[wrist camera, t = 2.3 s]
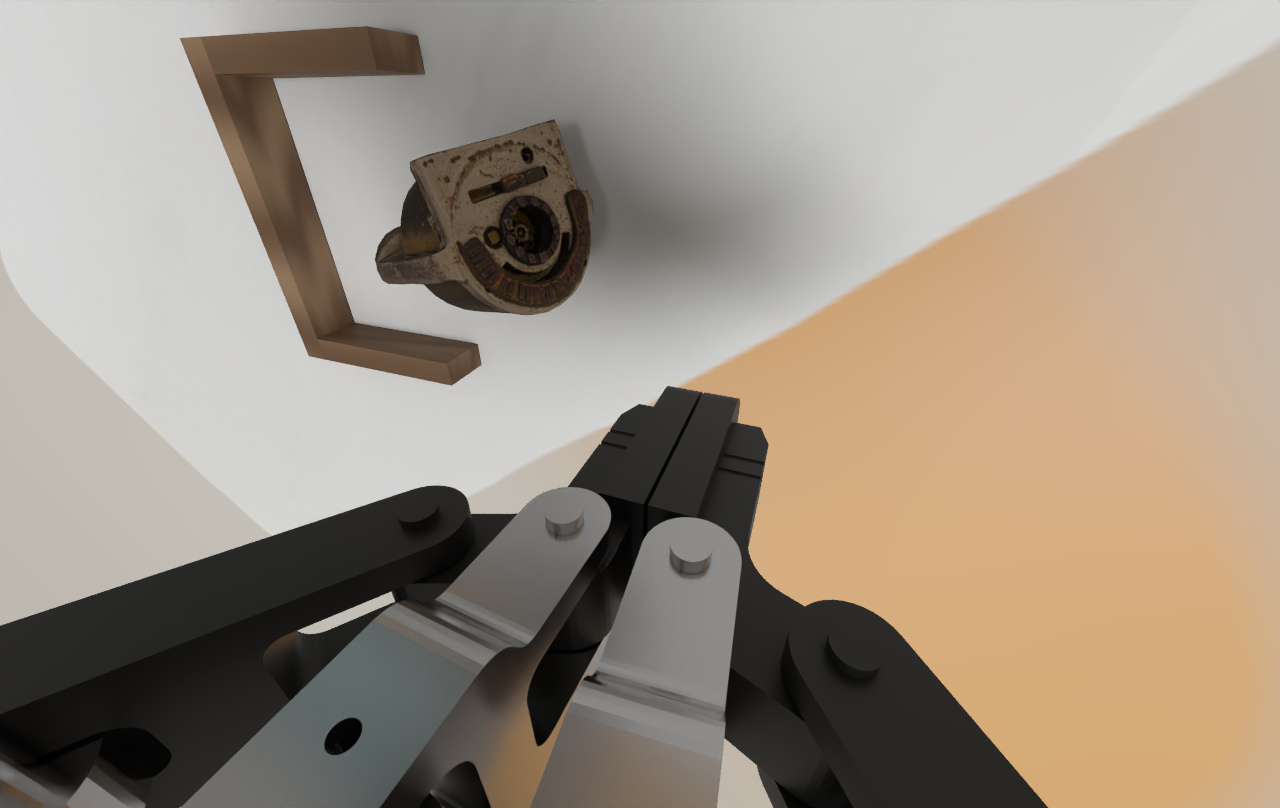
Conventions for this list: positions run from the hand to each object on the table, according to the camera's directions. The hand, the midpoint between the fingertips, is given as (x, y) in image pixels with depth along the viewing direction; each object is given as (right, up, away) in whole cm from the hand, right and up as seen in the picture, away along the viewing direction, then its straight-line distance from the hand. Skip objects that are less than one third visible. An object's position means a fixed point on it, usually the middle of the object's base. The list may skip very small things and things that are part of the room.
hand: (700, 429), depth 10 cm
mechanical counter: (-7, +10, +16) cm, 20 cm away
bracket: (-18, +12, +19) cm, 28 cm away
